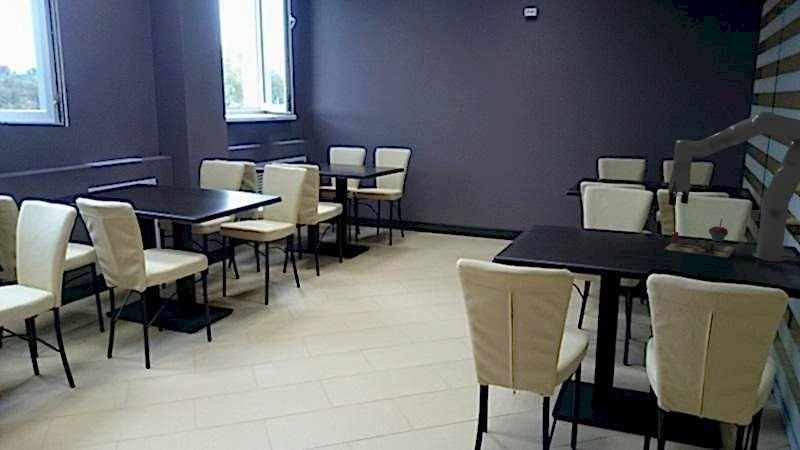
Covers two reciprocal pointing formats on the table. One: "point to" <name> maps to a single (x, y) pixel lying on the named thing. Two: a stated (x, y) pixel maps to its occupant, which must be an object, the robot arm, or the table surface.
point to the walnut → (706, 247)
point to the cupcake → (718, 233)
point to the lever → (676, 241)
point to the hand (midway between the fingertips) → (678, 204)
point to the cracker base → (690, 249)
